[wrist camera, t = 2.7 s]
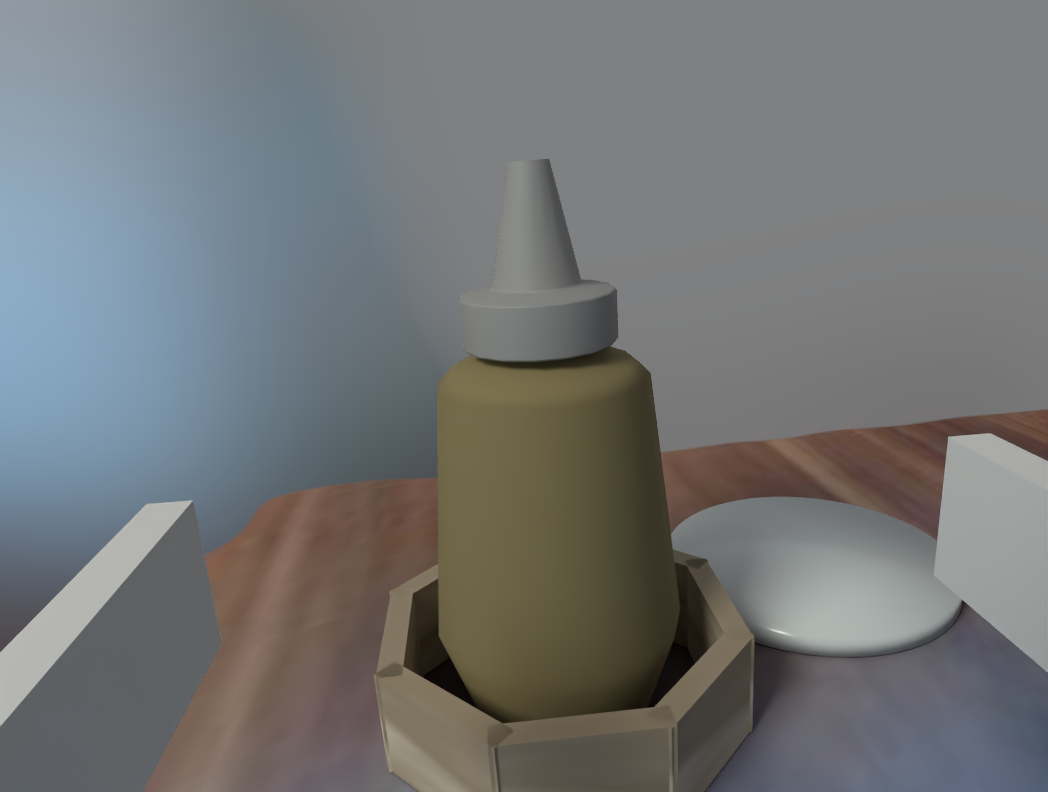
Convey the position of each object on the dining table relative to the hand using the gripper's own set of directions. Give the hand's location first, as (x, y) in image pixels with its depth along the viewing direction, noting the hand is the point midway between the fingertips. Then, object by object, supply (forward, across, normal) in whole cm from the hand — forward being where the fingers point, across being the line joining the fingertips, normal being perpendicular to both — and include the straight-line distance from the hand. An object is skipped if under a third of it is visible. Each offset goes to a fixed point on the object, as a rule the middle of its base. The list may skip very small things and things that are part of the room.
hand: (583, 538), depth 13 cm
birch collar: (+10, 0, -12) cm, 15 cm away
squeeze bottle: (+10, 0, -12) cm, 16 cm away
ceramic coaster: (+17, +12, -11) cm, 23 cm away
